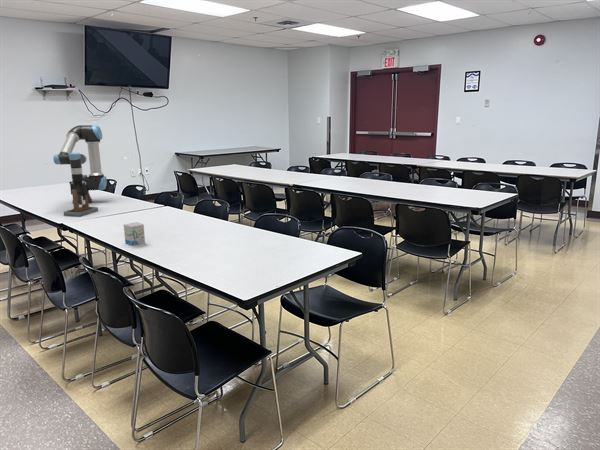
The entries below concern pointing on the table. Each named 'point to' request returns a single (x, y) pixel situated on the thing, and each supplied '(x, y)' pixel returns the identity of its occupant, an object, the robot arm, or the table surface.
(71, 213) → the tray
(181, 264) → the table surface
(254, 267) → the table surface
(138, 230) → the ink box
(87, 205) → the brown tapered wooden part
